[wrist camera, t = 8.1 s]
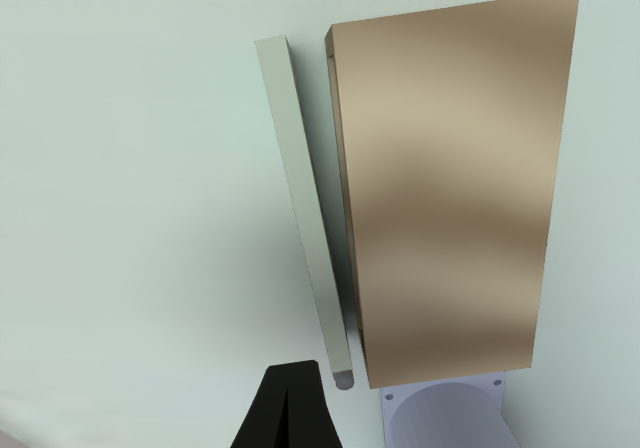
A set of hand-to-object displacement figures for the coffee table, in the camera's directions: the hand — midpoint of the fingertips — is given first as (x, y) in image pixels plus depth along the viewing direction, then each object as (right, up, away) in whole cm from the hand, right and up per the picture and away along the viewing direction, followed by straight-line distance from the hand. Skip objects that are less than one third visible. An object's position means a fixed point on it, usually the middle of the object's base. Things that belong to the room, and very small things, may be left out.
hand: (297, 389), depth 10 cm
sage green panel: (0, +5, +8) cm, 10 cm away
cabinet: (+6, +6, +8) cm, 12 cm away
